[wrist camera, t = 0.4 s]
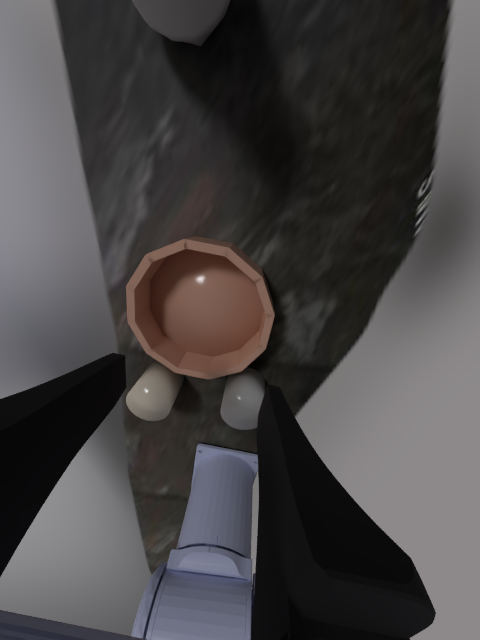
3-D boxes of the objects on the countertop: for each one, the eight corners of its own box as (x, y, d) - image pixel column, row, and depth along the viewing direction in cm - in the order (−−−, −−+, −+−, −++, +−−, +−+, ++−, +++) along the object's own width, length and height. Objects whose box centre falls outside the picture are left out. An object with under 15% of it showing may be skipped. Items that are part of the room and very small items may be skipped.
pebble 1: (182, 394, 24) (168, 424, 21) (146, 387, 24) (127, 416, 21) (184, 364, 23) (170, 392, 19) (146, 357, 23) (125, 383, 19)
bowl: (255, 367, 22) (255, 388, 19) (145, 346, 22) (129, 363, 19) (284, 253, 17) (289, 259, 15) (145, 225, 17) (123, 226, 15)
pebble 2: (260, 400, 24) (260, 433, 20) (224, 393, 24) (217, 425, 20) (268, 371, 22) (270, 401, 18) (229, 363, 22) (224, 392, 18)
